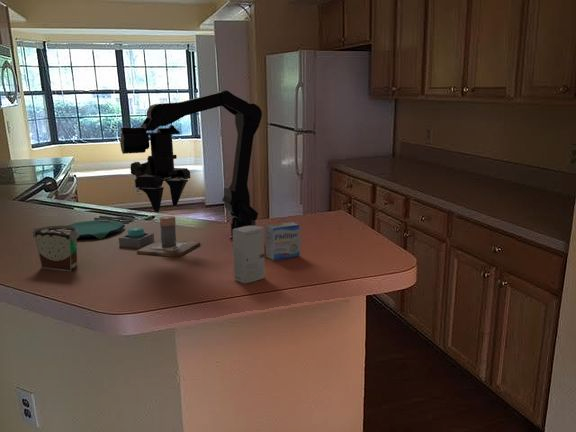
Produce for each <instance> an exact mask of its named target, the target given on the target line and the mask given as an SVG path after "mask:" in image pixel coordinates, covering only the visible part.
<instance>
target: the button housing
mask: <svg viewBox="0 0 576 432" xmlns="http://www.w3.org/2000/svg"><path fill="white" fill-rule="evenodd" d="M154 242H155V235H154V232H145V231H144V236H143V237H141V238H129V237H128V233H126V234H124V235H122V236H120V237H118V244H119V247H122V248H133V249H134V248H135V249H136V248H137V249H141V248H143V247H145V246H147V245H150V244H152V243H154Z"/></svg>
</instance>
